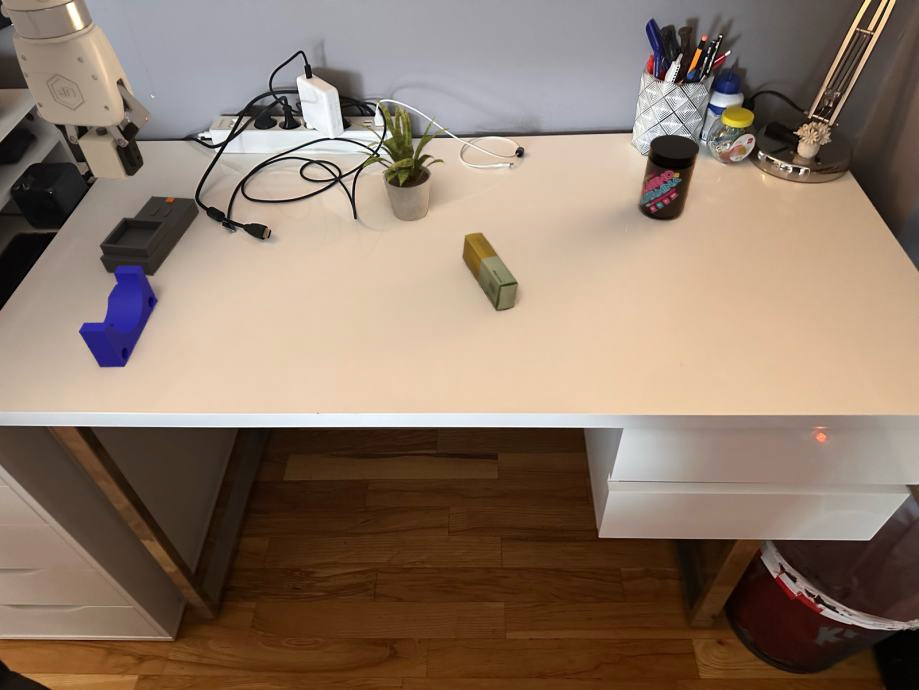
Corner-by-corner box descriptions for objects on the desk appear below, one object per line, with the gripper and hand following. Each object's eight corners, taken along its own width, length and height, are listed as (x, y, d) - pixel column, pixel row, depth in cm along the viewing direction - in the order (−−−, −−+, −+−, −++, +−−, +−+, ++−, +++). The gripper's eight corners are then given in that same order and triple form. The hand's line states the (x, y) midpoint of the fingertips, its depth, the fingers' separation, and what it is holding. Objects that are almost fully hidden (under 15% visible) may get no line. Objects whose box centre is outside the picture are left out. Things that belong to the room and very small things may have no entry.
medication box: (515, 307, 87) (520, 283, 84) (497, 311, 86) (500, 287, 83) (478, 253, 95) (481, 230, 92) (461, 257, 94) (463, 233, 91)
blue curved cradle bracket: (124, 301, 90) (106, 266, 86) (157, 300, 90) (141, 265, 86) (87, 367, 82) (65, 331, 77) (124, 366, 81) (104, 331, 77)
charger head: (94, 177, 84) (75, 136, 80) (111, 160, 87) (93, 119, 83) (125, 179, 83) (107, 138, 79) (142, 162, 86) (125, 121, 82)
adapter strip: (106, 272, 94) (95, 249, 92) (157, 209, 105) (148, 187, 102) (153, 275, 94) (142, 252, 91) (199, 212, 104) (191, 189, 102)
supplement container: (631, 199, 104) (642, 137, 96) (673, 194, 104) (687, 132, 97) (647, 224, 99) (660, 161, 91) (691, 219, 100) (707, 155, 92)
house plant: (340, 204, 105) (322, 104, 93) (414, 174, 110) (405, 76, 99) (390, 248, 97) (377, 144, 85) (466, 213, 102) (464, 111, 91)
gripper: (-43, 27, 70) (40, 181, 83) (105, 33, 68) (166, 189, 81) (2, 2, 75) (73, 150, 88) (141, 6, 73) (193, 157, 86)
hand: (117, 167), depth 85 cm, fingers closed on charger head, 4 cm apart
